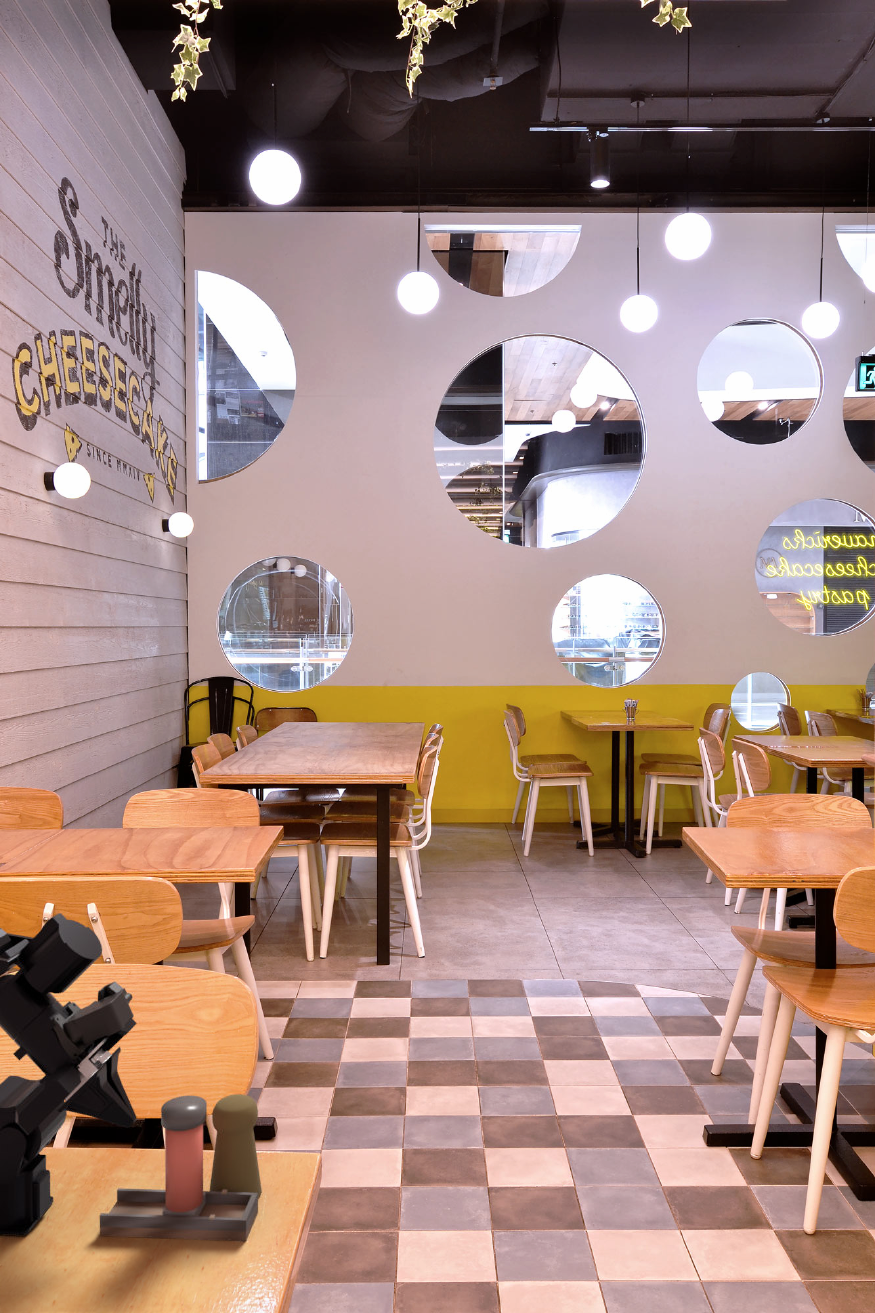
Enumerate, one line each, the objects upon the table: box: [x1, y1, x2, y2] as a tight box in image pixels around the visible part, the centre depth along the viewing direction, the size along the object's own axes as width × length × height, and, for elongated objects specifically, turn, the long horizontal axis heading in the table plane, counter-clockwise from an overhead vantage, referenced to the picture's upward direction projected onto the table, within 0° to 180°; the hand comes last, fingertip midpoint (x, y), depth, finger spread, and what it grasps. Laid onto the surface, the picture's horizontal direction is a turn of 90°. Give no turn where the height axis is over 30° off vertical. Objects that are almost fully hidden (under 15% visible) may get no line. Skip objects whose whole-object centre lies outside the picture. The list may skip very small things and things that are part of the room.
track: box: [99, 1187, 259, 1242], centre depth 101 cm, size 16×5×2 cm, turn 87°
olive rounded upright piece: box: [209, 1093, 263, 1200], centre depth 107 cm, size 6×6×11 cm
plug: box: [160, 1095, 208, 1216], centre depth 101 cm, size 5×5×12 cm
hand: (132, 1123), depth 102 cm, fingers closed
